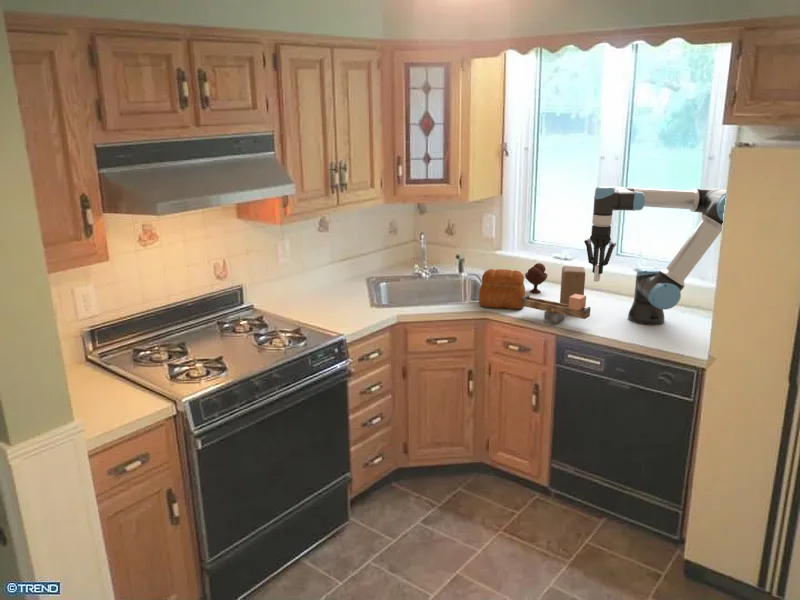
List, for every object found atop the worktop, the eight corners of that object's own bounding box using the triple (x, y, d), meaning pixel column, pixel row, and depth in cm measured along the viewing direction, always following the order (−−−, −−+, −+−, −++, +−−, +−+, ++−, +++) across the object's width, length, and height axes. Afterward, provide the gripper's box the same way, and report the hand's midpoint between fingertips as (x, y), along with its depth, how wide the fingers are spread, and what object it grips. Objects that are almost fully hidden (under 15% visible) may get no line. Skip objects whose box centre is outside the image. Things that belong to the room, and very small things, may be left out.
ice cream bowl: (532, 288, 352) (534, 259, 347) (550, 292, 344) (552, 263, 339) (519, 292, 345) (521, 263, 340) (537, 296, 337) (539, 267, 333)
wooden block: (582, 314, 310) (585, 272, 304) (559, 313, 312) (562, 271, 306) (581, 308, 319) (584, 266, 313) (559, 306, 321) (562, 265, 315)
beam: (590, 326, 295) (591, 306, 292) (582, 331, 289) (584, 310, 286) (528, 312, 313) (529, 294, 310) (519, 317, 307) (520, 298, 304)
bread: (523, 311, 315) (525, 276, 310) (477, 308, 319) (478, 274, 314) (525, 300, 331) (527, 267, 326) (481, 298, 336) (482, 264, 331)
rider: (585, 309, 293) (586, 295, 292) (579, 313, 289) (580, 299, 287) (574, 307, 296) (575, 293, 295) (568, 310, 292) (569, 296, 290)
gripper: (620, 225, 276) (615, 281, 283) (590, 221, 283) (585, 276, 290) (613, 228, 270) (608, 285, 277) (582, 224, 278) (578, 280, 285)
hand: (596, 280), depth 284 cm, fingers closed
